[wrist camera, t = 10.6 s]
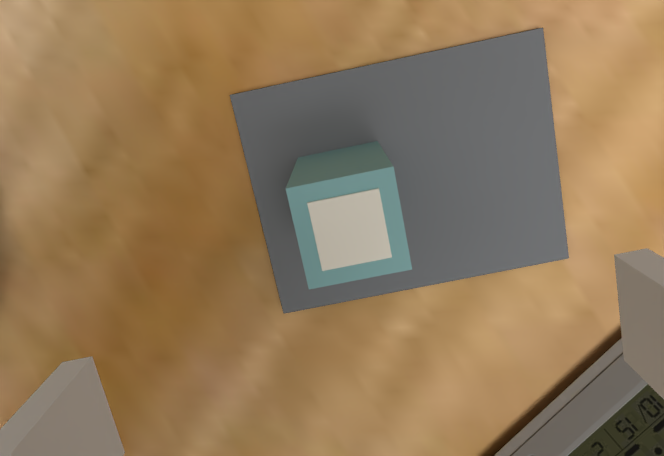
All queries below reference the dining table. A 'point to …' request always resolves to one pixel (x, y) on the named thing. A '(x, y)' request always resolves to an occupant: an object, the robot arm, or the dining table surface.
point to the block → (347, 215)
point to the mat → (421, 160)
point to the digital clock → (597, 416)
